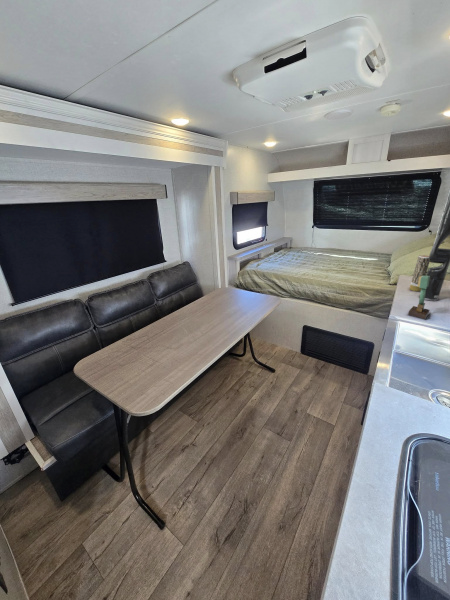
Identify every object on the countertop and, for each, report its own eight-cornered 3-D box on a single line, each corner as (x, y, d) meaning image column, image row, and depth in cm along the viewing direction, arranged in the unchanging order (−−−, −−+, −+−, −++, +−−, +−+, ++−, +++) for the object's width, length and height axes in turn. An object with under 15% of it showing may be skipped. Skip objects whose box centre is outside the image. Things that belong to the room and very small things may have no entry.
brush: (416, 305, 142) (420, 275, 136) (424, 307, 139) (429, 275, 133) (414, 308, 139) (418, 277, 133) (422, 309, 136) (427, 278, 130)
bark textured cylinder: (416, 288, 178) (426, 255, 168) (423, 291, 172) (433, 257, 162) (407, 288, 179) (416, 255, 169) (412, 291, 173) (422, 257, 163)
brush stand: (411, 310, 146) (415, 299, 143) (428, 314, 140) (432, 303, 138) (407, 315, 140) (411, 304, 138) (425, 319, 135) (428, 308, 132)
